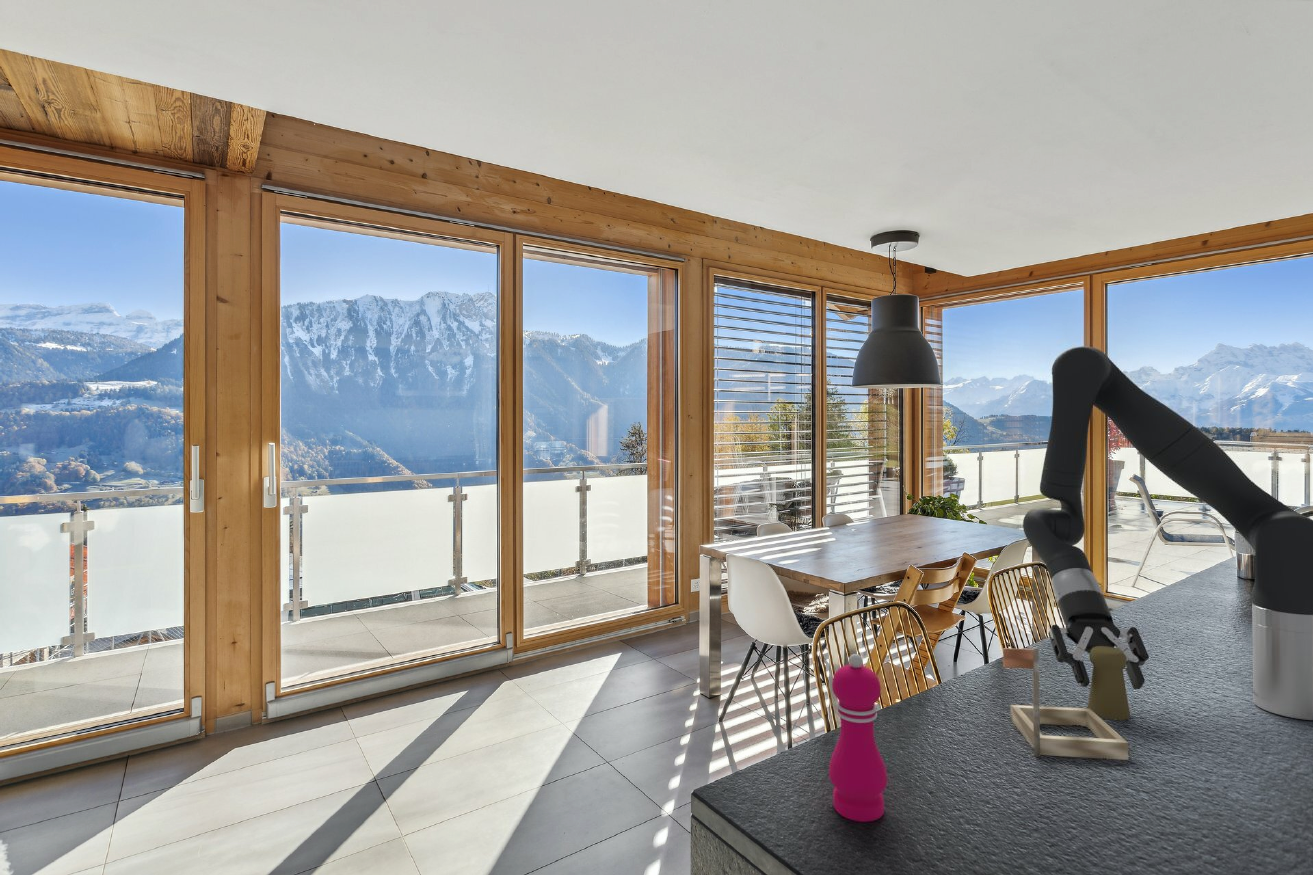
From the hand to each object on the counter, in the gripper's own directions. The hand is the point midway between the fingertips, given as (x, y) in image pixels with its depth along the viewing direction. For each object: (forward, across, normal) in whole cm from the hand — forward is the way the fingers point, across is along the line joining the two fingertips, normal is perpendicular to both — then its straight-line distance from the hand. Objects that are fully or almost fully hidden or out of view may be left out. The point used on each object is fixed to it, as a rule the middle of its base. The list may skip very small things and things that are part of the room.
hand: (1112, 685), depth 111 cm
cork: (+3, 0, +5) cm, 5 cm away
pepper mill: (+27, -45, -20) cm, 56 cm away
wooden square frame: (+11, -13, -3) cm, 17 cm away
